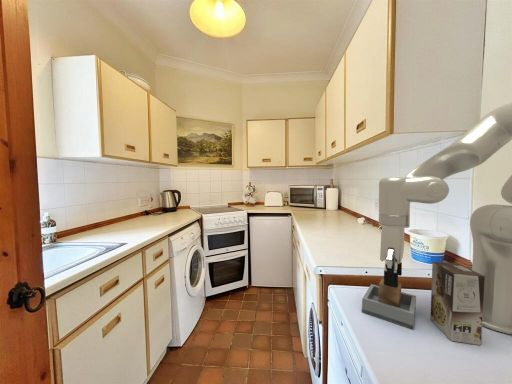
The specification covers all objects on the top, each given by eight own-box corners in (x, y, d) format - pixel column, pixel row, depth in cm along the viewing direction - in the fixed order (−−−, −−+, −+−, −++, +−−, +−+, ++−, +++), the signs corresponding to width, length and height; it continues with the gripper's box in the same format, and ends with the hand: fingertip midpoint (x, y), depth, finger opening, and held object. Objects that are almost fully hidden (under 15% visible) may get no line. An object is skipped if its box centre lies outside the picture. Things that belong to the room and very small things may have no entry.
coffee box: (482, 346, 51) (487, 276, 51) (450, 341, 52) (454, 273, 52) (456, 322, 60) (459, 262, 60) (428, 318, 61) (431, 260, 61)
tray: (415, 309, 66) (416, 295, 66) (413, 329, 56) (413, 314, 56) (370, 296, 73) (371, 284, 73) (361, 312, 64) (362, 298, 64)
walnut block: (400, 306, 65) (401, 282, 65) (398, 314, 61) (399, 288, 61) (381, 300, 68) (382, 277, 68) (377, 307, 64) (378, 283, 64)
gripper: (383, 216, 73) (383, 268, 74) (372, 223, 59) (372, 287, 60) (411, 218, 68) (411, 273, 69) (407, 226, 55) (406, 295, 55)
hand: (393, 279), depth 64 cm, fingers open, 9 cm apart
